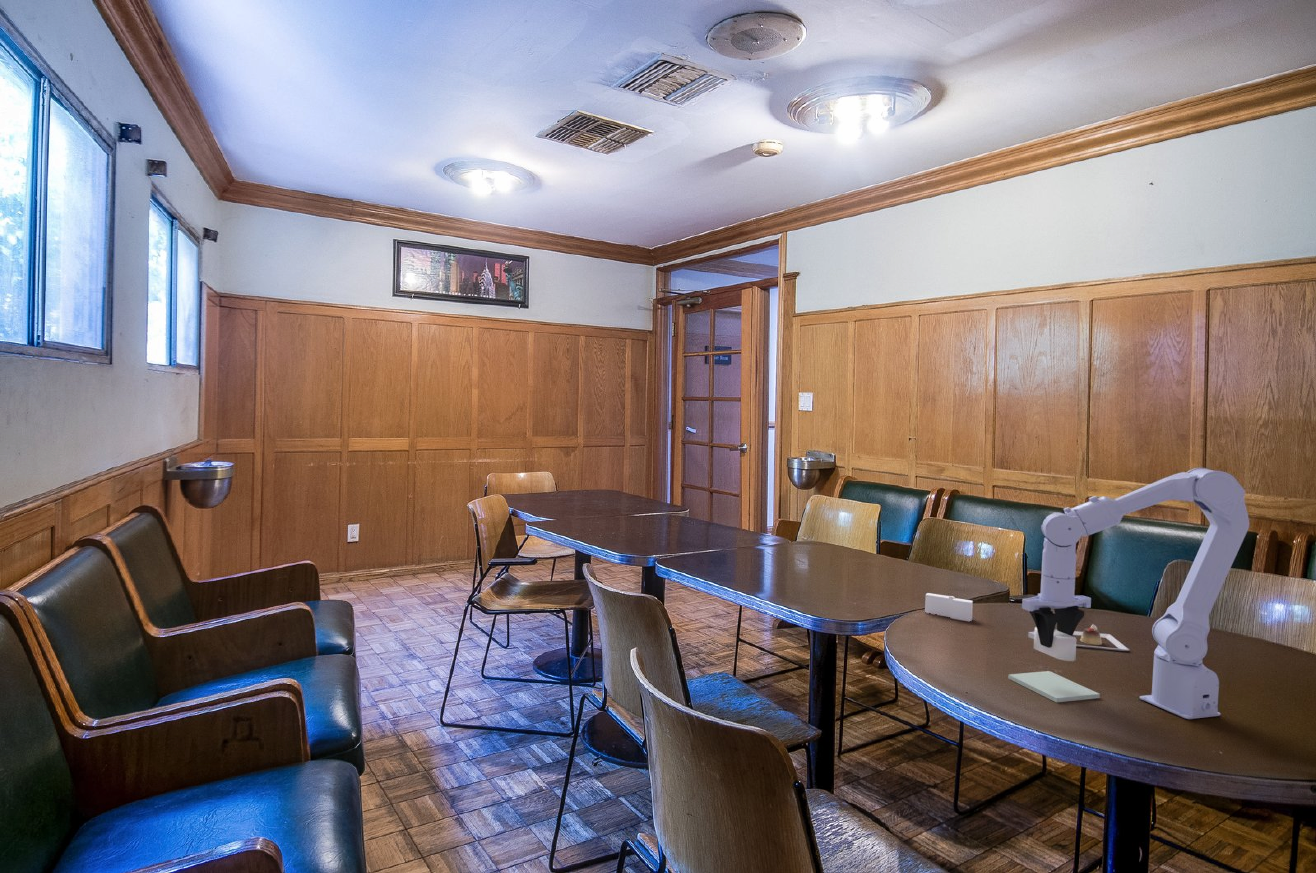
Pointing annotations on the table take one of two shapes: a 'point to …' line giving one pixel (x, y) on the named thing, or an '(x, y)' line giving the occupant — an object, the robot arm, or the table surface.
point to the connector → (1057, 645)
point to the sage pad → (1053, 686)
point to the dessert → (1098, 639)
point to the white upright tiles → (949, 606)
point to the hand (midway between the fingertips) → (1054, 645)
